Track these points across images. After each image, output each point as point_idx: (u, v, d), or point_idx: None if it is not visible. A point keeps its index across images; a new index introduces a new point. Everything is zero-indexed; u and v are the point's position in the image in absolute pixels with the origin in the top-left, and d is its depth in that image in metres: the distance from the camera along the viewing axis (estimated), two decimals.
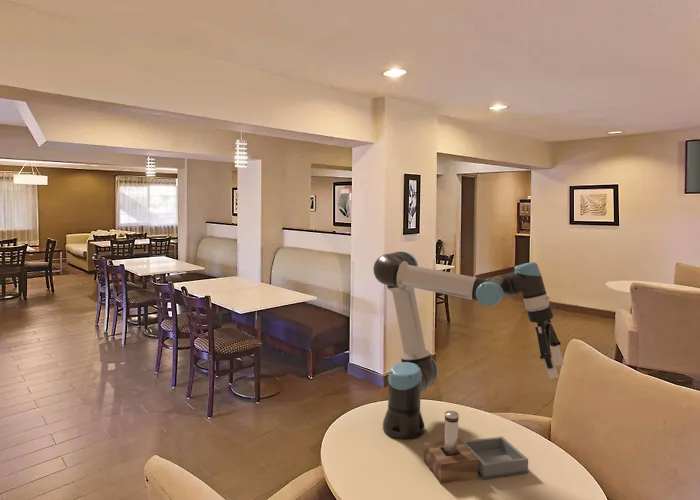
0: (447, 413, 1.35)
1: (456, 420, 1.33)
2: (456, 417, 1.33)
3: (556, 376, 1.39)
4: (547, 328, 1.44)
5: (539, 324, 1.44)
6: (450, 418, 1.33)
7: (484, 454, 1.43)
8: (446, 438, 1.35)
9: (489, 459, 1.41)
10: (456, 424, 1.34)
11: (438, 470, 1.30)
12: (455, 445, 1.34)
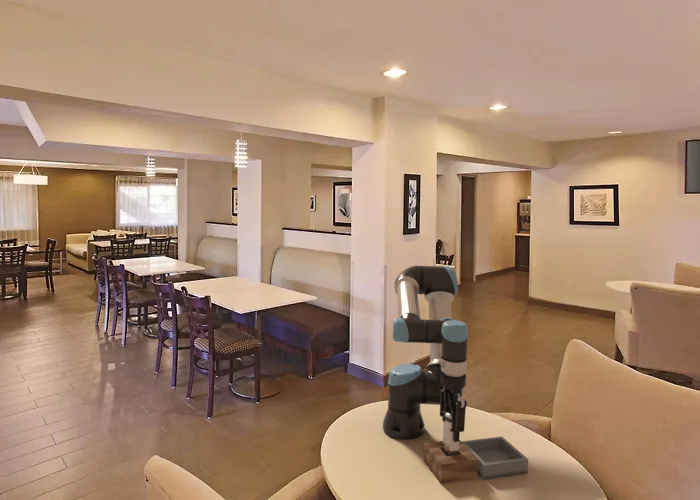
0: (447, 413, 1.35)
1: None
2: None
3: None
4: None
5: None
6: (450, 418, 1.33)
7: (484, 454, 1.43)
8: (446, 438, 1.35)
9: (489, 459, 1.41)
10: None
11: (438, 470, 1.30)
12: None
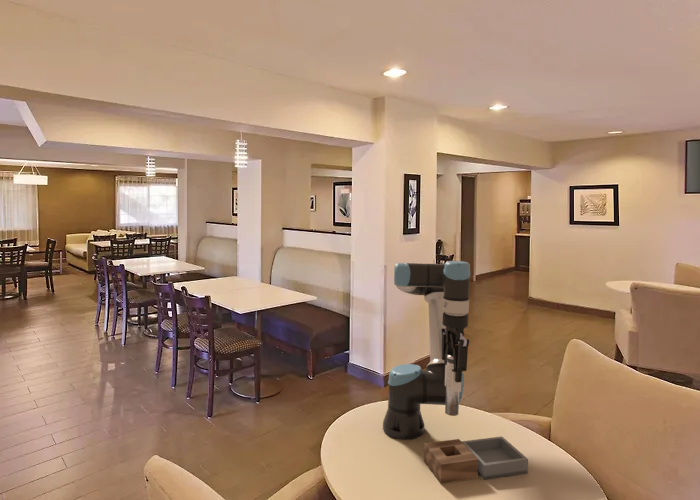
0: (449, 355, 1.33)
1: None
2: None
3: None
4: None
5: None
6: (452, 359, 1.32)
7: (484, 454, 1.43)
8: (448, 380, 1.33)
9: (489, 459, 1.41)
10: None
11: (438, 470, 1.30)
12: None
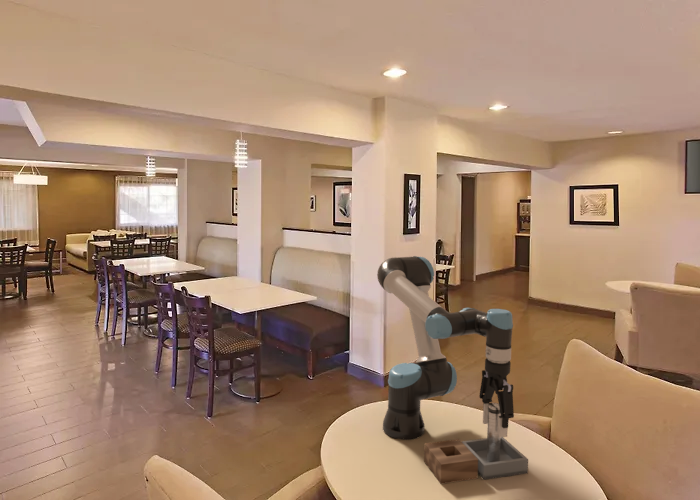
0: (490, 405, 1.39)
1: (499, 411, 1.37)
2: (499, 408, 1.37)
3: None
4: None
5: None
6: (494, 409, 1.37)
7: (484, 454, 1.43)
8: (490, 429, 1.38)
9: None
10: (499, 415, 1.37)
11: (438, 470, 1.30)
12: None
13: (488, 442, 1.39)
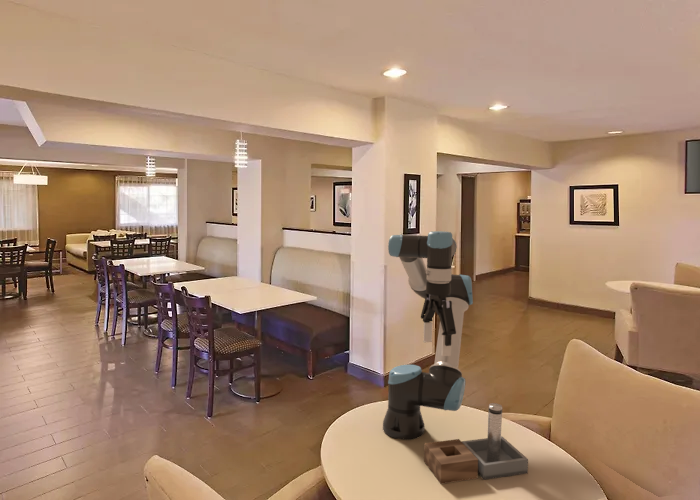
0: (491, 405, 1.39)
1: (500, 412, 1.37)
2: (500, 409, 1.37)
3: None
4: None
5: None
6: (494, 410, 1.37)
7: (484, 454, 1.43)
8: (490, 430, 1.38)
9: None
10: (500, 416, 1.37)
11: (438, 470, 1.30)
12: (499, 436, 1.38)
13: (488, 442, 1.39)
